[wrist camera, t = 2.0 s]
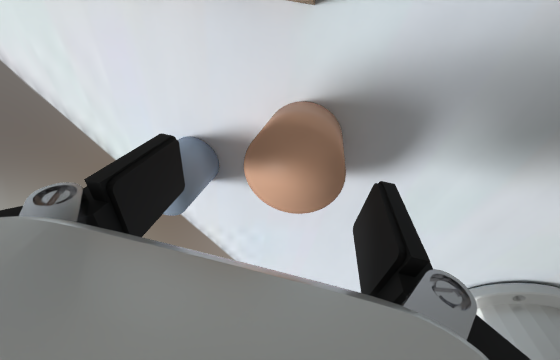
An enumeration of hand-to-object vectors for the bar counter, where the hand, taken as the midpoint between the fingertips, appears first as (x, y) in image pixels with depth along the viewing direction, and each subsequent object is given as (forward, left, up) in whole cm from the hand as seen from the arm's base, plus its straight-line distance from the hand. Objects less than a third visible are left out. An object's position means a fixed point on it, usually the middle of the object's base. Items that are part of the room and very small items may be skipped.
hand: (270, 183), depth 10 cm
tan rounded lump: (-1, +1, -7) cm, 7 cm away
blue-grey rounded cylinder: (+8, +5, -7) cm, 12 cm away
